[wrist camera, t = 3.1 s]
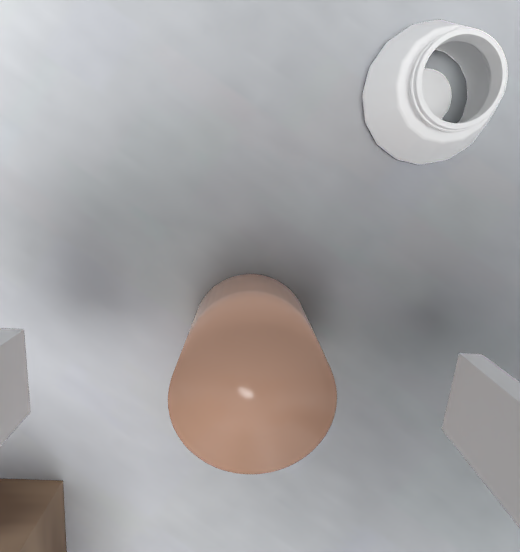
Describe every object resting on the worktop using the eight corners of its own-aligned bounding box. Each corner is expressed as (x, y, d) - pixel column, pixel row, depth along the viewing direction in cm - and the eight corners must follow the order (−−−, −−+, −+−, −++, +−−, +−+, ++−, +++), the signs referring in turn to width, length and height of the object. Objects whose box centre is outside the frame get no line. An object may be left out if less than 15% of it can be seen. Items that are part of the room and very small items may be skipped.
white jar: (486, 151, 16) (481, 17, 15) (539, 144, 13) (537, -23, 12) (367, 174, 16) (352, 42, 15) (393, 172, 13) (378, 8, 12)
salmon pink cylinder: (311, 278, 17) (347, 328, 11) (299, 381, 18) (326, 477, 12) (196, 269, 16) (170, 317, 11) (192, 375, 18) (166, 471, 12)
